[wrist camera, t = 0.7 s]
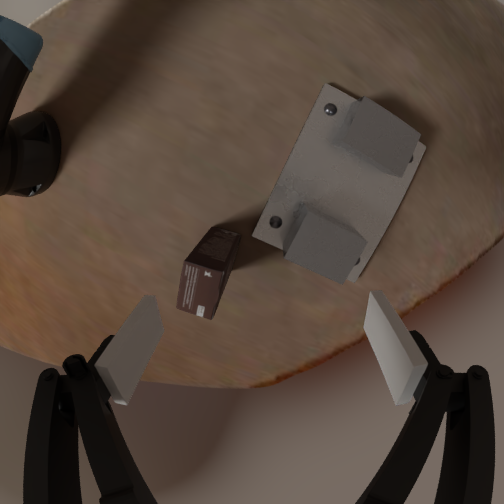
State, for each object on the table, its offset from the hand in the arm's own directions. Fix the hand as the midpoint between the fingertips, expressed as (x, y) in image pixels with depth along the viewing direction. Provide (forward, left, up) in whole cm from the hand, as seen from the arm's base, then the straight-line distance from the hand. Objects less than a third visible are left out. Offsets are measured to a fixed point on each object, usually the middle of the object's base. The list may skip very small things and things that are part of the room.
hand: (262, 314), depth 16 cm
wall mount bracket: (+7, +9, -21) cm, 24 cm away
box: (-4, -6, -22) cm, 23 cm away
